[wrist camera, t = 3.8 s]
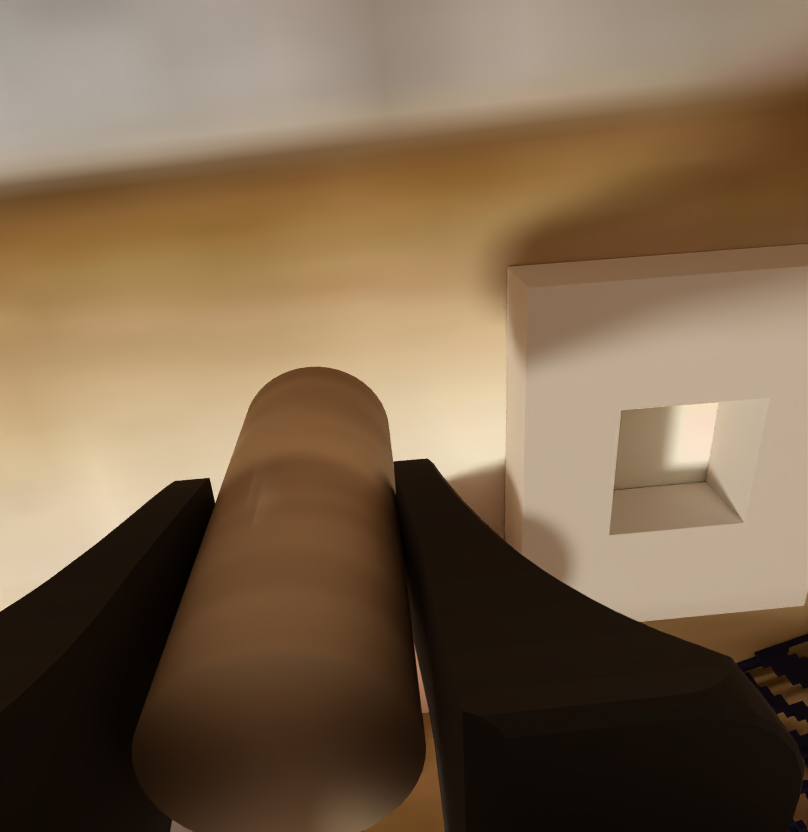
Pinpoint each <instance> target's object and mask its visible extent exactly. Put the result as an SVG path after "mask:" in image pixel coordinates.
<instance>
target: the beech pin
mask: <svg viewBox="0 0 808 832" xmlns="http://www.w3.org/2000/svg"><path fill="white" fill-rule="evenodd" d="M425 753H426V742H425V734H424V725H423V717H422V708H421V699H420V691H419V682H418V673H417V665H416V656H415V648H414V639H413V630H412V622H411V613H410V605H409V596H408V587H407V579H406V570H405V562H404V553H403V545H402V538H401V532H400V526H399V517H398V508H397V500H396V489H395V476H394V467H393V458H392V450H391V441H390V432H389V425H388V419H387V415H386V412H385V410H384V408H383V405H382V403H381V402H380V400H379V399H378V397H377V396H376V395H375V393H374V392H373V391H372V390H371V389H370V388H369V387H368V386H367V385H366V384H364V383H363V382H362V381H360V380H359V379H357V378H356V377H354V376H352V375H350V374H348V373H345V372H342V371H340V370H336V369H332V368H326V367H305V368H299V369H295V370H291V371H288V372H286V373H284V374H281V375H279V376H278V377H276V378H274V379H272V380H271V381H270V382H269V383H267V384H266V385H265V386H264V387H263V388H262V389H261V390H260V391H259V392H258V394H257V395H256V396H255V398H254V399H253V401H252V403H251V405H250V407H249V409H248V412H247V415H246V418H245V421H244V424H243V426H242V429H241V432H240V435H239V438H238V441H237V443H236V446H235V449H234V452H233V455H232V458H231V460H230V463H229V466H228V469H227V472H226V475H225V477H224V480H223V483H222V486H221V489H220V492H219V494H218V497H217V500H216V503H215V506H214V509H213V511H212V514H211V517H210V520H209V523H208V526H207V528H206V531H205V534H204V537H203V540H202V543H201V545H200V548H199V551H198V554H197V557H196V560H195V563H194V565H193V568H192V571H191V574H190V577H189V580H188V582H187V585H186V588H185V591H184V594H183V597H182V599H181V602H180V605H179V608H178V611H177V614H176V616H175V619H174V622H173V625H172V628H171V631H170V633H169V636H168V639H167V642H166V645H165V648H164V650H163V653H162V656H161V659H160V662H159V665H158V667H157V670H156V673H155V676H154V679H153V682H152V684H151V687H150V690H149V693H148V696H147V699H146V701H145V704H144V707H143V710H142V713H141V716H140V718H139V721H138V724H137V727H136V730H135V733H134V735H133V742H132V763H133V767H134V771H135V775H136V777H137V779H138V781H139V784H140V786H141V788H142V789H143V791H144V792H145V793H146V795H147V796H148V798H149V799H150V800H151V801H152V802H153V803H154V804H155V806H156V807H157V808H158V809H159V810H161V811H162V812H163V813H164V814H165V815H167V816H168V817H169V818H170V819H172V820H173V821H175V822H177V823H178V824H180V825H181V826H183V827H185V828H187V829H189V830H191V831H193V832H361V831H363V830H365V829H367V828H369V827H371V826H372V825H374V824H376V823H378V822H379V821H381V820H382V819H384V818H385V817H386V816H388V815H389V814H391V813H392V812H393V811H394V810H395V809H396V808H397V807H398V806H400V805H401V804H402V803H403V801H404V800H405V799H406V798H407V797H408V795H409V794H410V793H411V792H412V790H413V788H414V787H415V785H416V784H417V782H418V780H419V777H420V775H421V772H422V770H423V766H424V761H425Z"/></svg>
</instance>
